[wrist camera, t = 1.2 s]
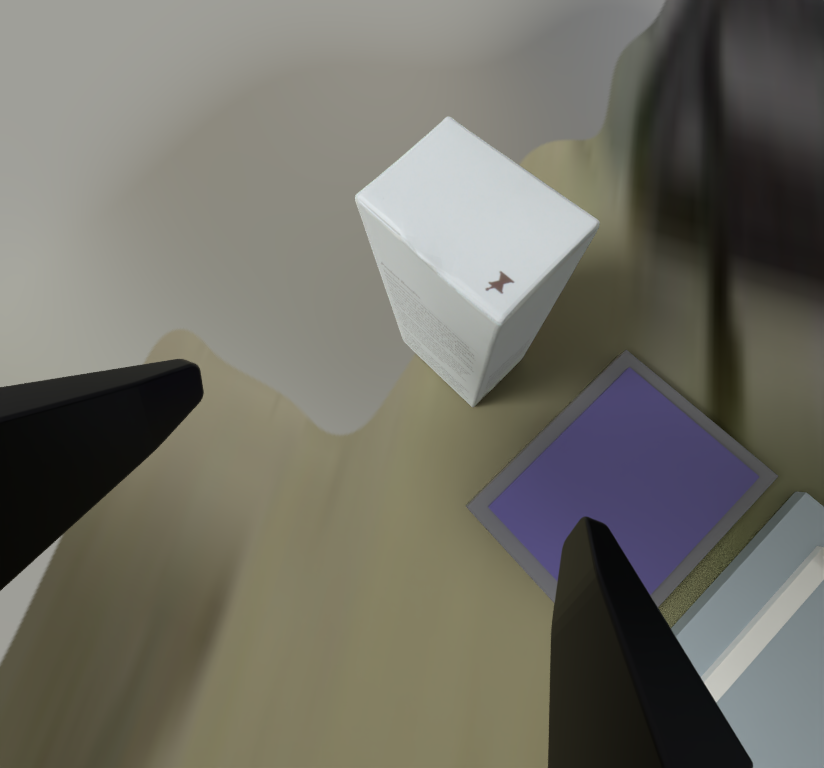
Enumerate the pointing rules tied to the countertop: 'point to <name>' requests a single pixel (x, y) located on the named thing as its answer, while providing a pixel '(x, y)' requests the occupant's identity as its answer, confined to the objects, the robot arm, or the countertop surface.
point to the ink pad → (624, 481)
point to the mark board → (768, 639)
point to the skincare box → (470, 254)
